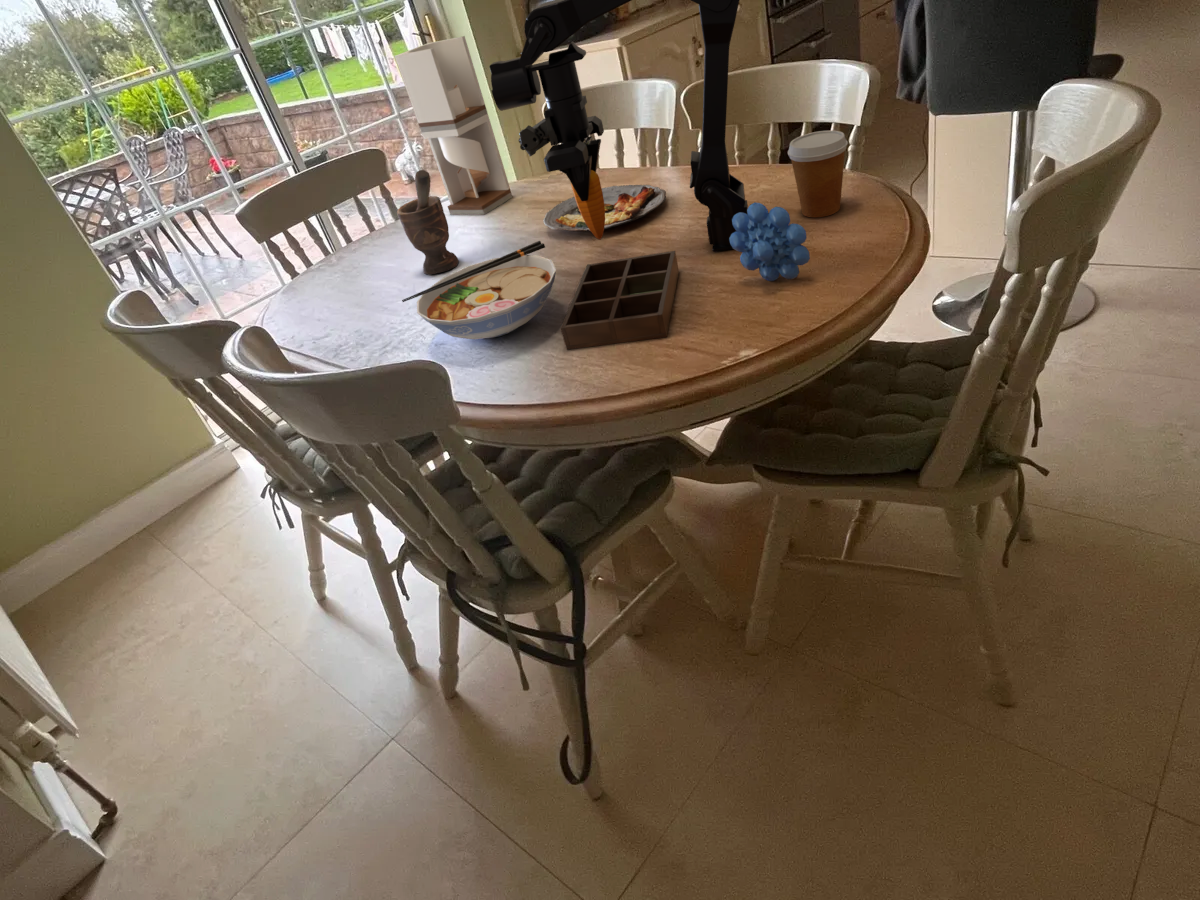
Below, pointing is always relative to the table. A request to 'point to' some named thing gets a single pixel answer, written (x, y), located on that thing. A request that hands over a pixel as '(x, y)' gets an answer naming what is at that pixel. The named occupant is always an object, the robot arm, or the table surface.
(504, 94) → the robot arm
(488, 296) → the ramen bowl
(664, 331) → the wooden compartment organizer
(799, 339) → the table surface
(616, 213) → the food plate
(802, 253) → the grapes
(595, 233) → the carrot
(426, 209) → the mortar and pestle
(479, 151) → the white wooden shelf
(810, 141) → the disposable coffee cup
